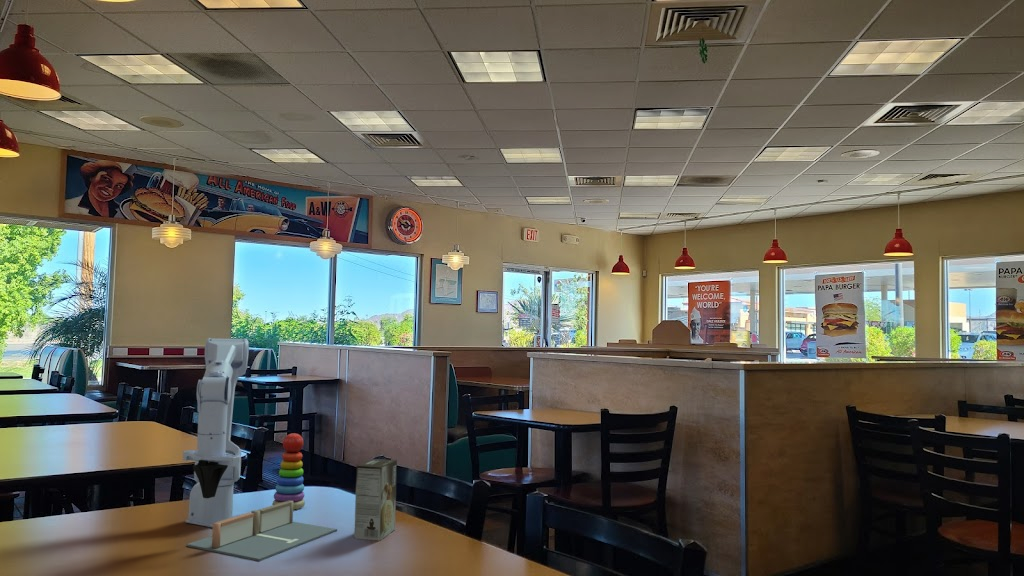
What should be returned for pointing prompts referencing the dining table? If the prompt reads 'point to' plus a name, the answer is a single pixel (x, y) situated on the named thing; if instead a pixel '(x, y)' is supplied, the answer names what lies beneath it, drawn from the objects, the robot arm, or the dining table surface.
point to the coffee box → (375, 499)
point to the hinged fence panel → (232, 529)
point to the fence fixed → (272, 517)
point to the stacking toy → (291, 473)
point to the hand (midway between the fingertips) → (208, 497)
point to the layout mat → (267, 541)
